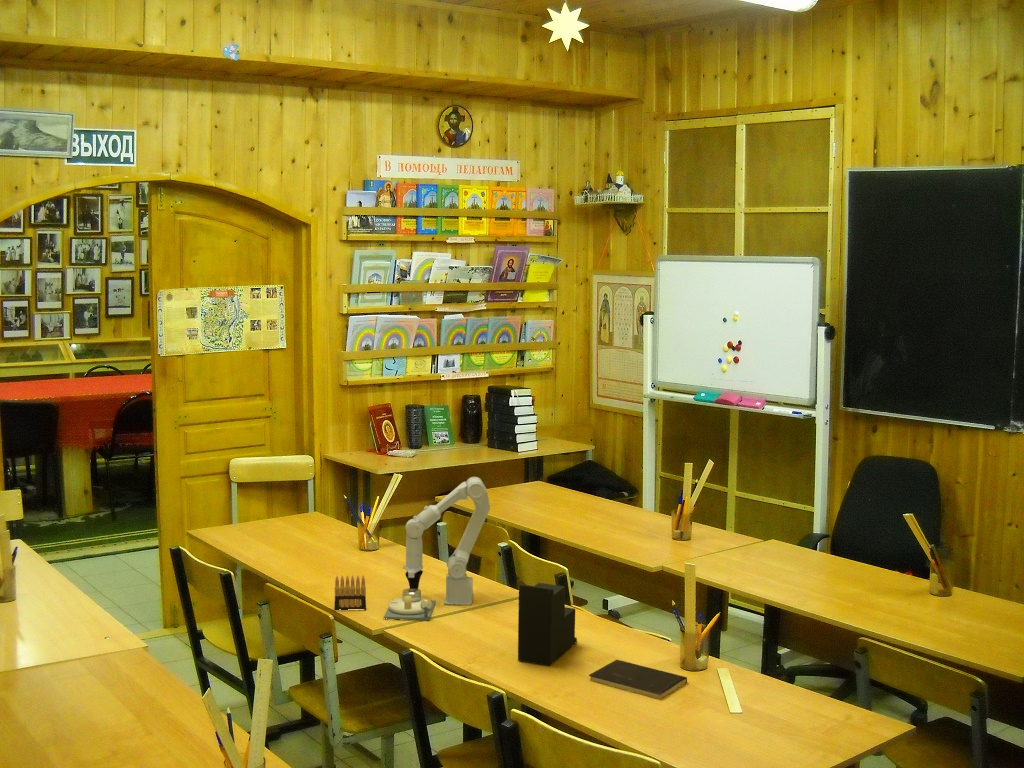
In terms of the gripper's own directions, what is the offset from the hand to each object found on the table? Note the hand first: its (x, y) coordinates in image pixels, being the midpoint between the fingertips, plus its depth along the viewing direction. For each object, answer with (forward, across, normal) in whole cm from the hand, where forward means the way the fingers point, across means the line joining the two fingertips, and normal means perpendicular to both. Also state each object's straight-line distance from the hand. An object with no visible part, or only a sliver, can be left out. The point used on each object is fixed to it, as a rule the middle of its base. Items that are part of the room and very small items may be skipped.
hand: (414, 592), depth 387 cm
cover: (+1, +6, 0) cm, 6 cm away
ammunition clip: (+4, +10, -20) cm, 23 cm away
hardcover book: (+4, +66, +74) cm, 99 cm away
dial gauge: (+4, +18, +7) cm, 20 cm away
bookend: (+4, +44, +48) cm, 65 cm away
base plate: (+4, +10, 0) cm, 10 cm away
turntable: (+2, +10, 0) cm, 10 cm away
